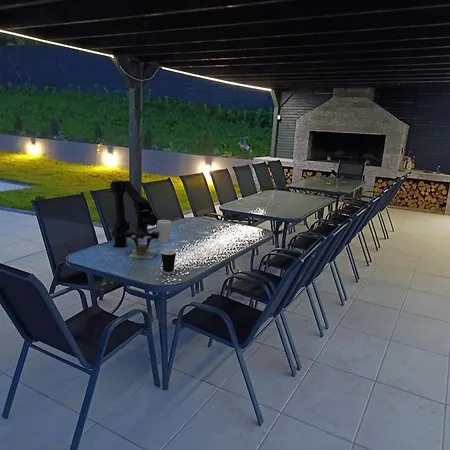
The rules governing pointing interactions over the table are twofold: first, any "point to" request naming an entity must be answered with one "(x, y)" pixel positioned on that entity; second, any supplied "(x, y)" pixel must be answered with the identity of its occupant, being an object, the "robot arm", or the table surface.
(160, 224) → the foam cup
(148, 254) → the mat
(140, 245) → the two-tone brown block
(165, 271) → the dixie cup
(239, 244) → the table surface
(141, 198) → the robot arm
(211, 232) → the table surface
